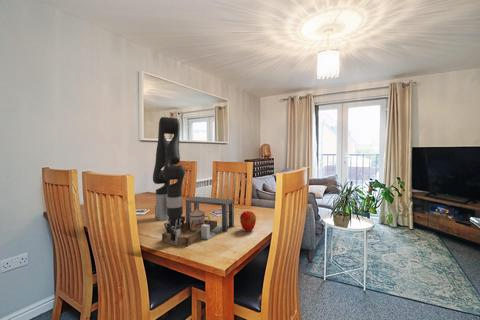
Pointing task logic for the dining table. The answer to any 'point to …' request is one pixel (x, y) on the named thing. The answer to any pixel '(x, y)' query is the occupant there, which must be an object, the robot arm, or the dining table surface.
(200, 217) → the teacup with lid
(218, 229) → the strip grey far
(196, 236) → the sled walnut
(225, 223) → the shelf
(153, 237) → the dining table surface
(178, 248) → the dining table surface
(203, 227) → the light grey block
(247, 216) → the apple
